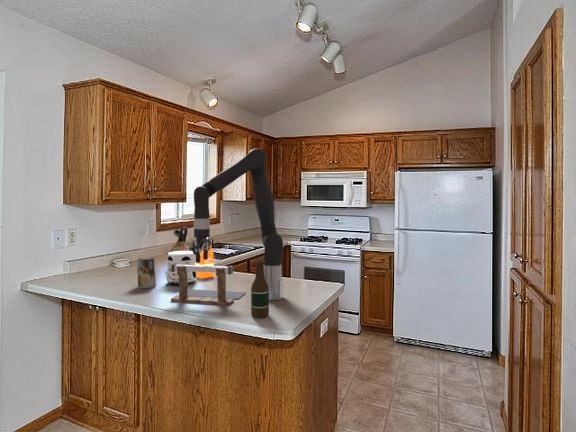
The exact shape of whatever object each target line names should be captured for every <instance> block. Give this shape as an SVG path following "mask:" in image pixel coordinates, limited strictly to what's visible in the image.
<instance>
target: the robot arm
mask: <svg viewBox="0 0 576 432" xmlns="http://www.w3.org/2000/svg"><path fill="white" fill-rule="evenodd" d="M266 161H267V155H266V152H265V151H264V150H263V149H261V148H257V147H255V148H253V149H251V150H249V152H248V153H247V154H246V155H245V156H244V157H243V158H241V159H240V160H239V161H238V162H236V163H235V164H233V165H231V166H229V167H228V168H226V169H224V170H222V171H220V173H218V174H216V175H215V176H213V177H211V178H210V180H208V181H207V182H205V183H203V184H202V185H200V186H197V187H196V188H195V189H194V190H193V203H194V212H193V214H194V215H193V216H194V217H193V219H194V220H193V238H195V239H196V240H194V241H193V243H192V245H193V246H192V248H193V249H192V251H193V254H195V255H196V263H200V262H201V255H200V254H201V251H203V259H204V260H207V259H208V252H209V250H210V246H211V238H210V237H211V231H210V230H211V226H210V225H211V222H210V208H209V202H210V201H209V199H210V198H211V197H212V196H214V195H215V194H216V193H218V192H220V191H222V190H223V189H225V188H227V187H228V186H229V185H231V184H232V183H234V182H235V181H236V180H238V179H239V178H240V177H242V176H243V175H245V174H246V173H248V172H249V173H250V176H251V181H252V190H253V192H252V193H253V197H254V198H253V199H254V204H255V209H256V212H257V216H258V220H259V224H260V230H261V242H262V245H263V247H264V257H263V261H264V277H265V280H266V282H267V284H268V286H269V301H281V299H282V298H283V291H284V290H283V288H284V287H283V286H284V285H283V284H284V283H283V277H282V271H283V270H282V262H283V258H284V256H283V254H284V240H283V238H282V236H281V235H280V234H279V233H278V231H277V228H276V223H275V210H276V209H275V201H274V196H273V191H272V188H271V186H270V182H269V179H268V178H267V173H266Z"/></svg>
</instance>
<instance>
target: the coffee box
mask: <svg viewBox="0 0 576 432" xmlns="http://www.w3.org/2000/svg"><path fill="white" fill-rule="evenodd" d="M136 263H137V265H136V266H137V289H147V288H149V289H150V288H156V286H157V279H156V277H157V275H156V273H157V271H156V257H139V258H137V260H136Z"/></svg>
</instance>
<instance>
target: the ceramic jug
mask: <svg viewBox="0 0 576 432" xmlns="http://www.w3.org/2000/svg"><path fill="white" fill-rule="evenodd" d="M173 235H174V236H175V237H178V239H177V241H176V243H175V244H174V245H173V247H172V248H171V250H170V252H174V251H191V250H190V248H189V247H188V245H187V244H186V239H187V235H188V227H186V226H182V227H180V230H179V229H175V230H174V231H173Z"/></svg>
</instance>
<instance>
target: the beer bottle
mask: <svg viewBox="0 0 576 432" xmlns="http://www.w3.org/2000/svg"><path fill="white" fill-rule="evenodd" d="M263 260H264V259H263ZM263 260H262V259H259V260H256V261H255V278H254V280H253V282H252V284H251V287H250V312H251V313H250V315H251V316H252V318H253V319H265V318H268V317H269V315H270V313H269V312H270V300H269V286H268V284H267V282H266V280H265V277H264V261H263Z"/></svg>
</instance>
